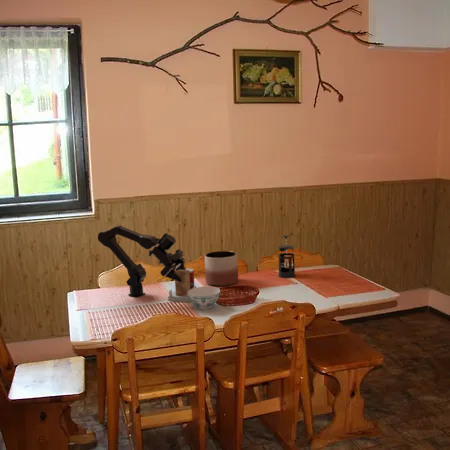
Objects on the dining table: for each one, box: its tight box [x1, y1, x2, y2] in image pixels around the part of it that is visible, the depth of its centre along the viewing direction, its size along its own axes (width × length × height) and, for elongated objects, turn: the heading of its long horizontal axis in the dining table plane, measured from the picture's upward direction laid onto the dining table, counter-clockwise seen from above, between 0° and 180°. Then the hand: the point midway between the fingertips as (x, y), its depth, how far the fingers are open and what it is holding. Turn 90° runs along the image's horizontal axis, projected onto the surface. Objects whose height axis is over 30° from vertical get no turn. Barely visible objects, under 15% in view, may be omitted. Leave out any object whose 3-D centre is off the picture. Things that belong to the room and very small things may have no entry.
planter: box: [204, 250, 239, 287], centre depth 301 cm, size 18×18×16 cm
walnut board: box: [174, 270, 190, 296], centre depth 276 cm, size 6×4×12 cm
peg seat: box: [167, 285, 197, 303], centre depth 277 cm, size 12×10×5 cm
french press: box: [277, 234, 296, 279], centre depth 308 cm, size 12×9×23 cm
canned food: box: [185, 267, 195, 290], centre depth 289 cm, size 8×8×11 cm
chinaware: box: [188, 286, 221, 310], centre depth 262 cm, size 15×15×8 cm
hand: (184, 278), depth 275 cm, fingers open, 9 cm apart
